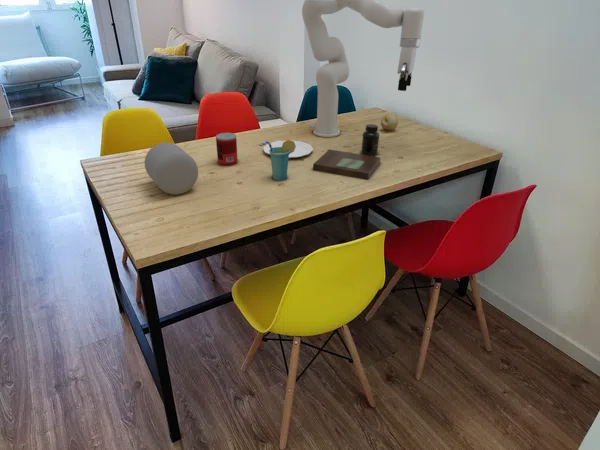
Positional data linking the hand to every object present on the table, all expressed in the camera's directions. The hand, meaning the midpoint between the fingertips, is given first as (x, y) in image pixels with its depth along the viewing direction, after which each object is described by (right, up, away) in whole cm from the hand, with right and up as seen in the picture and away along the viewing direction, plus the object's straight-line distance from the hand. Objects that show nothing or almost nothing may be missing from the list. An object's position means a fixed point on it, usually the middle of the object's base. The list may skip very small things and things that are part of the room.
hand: (404, 88), depth 182 cm
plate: (-47, -25, +9) cm, 54 cm away
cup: (-51, -38, -15) cm, 65 cm away
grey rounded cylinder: (-90, -41, -21) cm, 102 cm away
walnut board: (-23, -32, -4) cm, 40 cm away
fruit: (+1, -10, +37) cm, 38 cm away
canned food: (-71, -31, -2) cm, 77 cm away
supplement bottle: (-13, -25, +9) cm, 30 cm away
